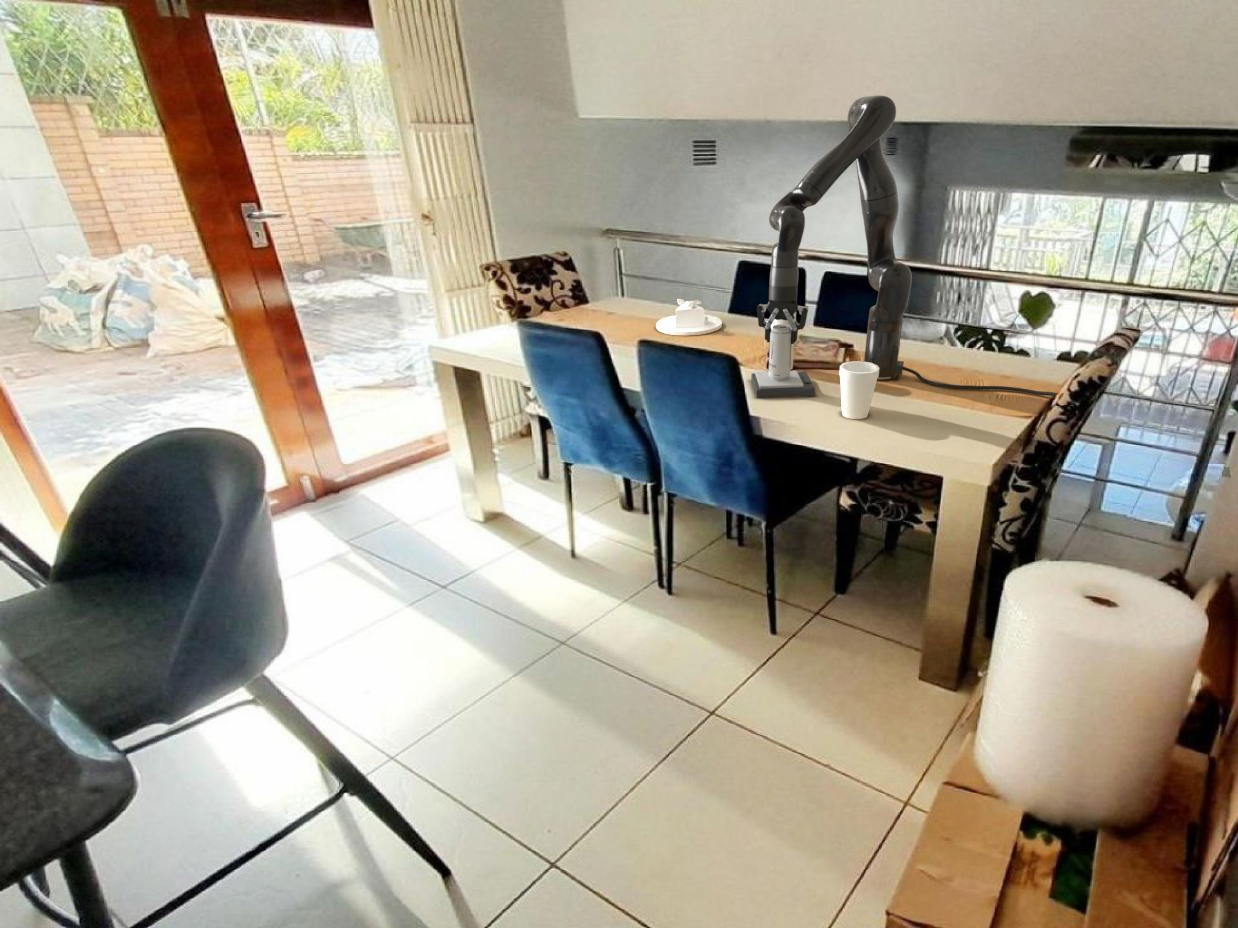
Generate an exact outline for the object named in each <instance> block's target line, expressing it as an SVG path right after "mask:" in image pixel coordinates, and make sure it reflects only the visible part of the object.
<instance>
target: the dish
mask: <svg viewBox="0 0 1238 928" xmlns="http://www.w3.org/2000/svg"><path fill="white" fill-rule="evenodd" d="M676 302H677V304H678V305H679V306H678V307H676V309H675V310H674V315H670V316H666V317H663V318H661V319H659V320H657V321H656V324H655V328H656V330H657V331H658V332H660V333H663V334H665V335H672V336H684V337H685V336H686V337H688V336H700V335H706V334H710V333H714V332H716V331H719V330H720V329H722V325H723V320H722V319H720V318H719V317H716V316H714V315H710V314H705V308H704V307H702V306H700V305H701V304H702V301H701V300H699V299H695V300H690V301H689V300H684V299H682V298H677V300H676Z"/></svg>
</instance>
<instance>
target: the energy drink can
mask: <svg viewBox="0 0 1238 928" xmlns="http://www.w3.org/2000/svg"><path fill="white" fill-rule="evenodd" d="M791 332H792V331H791V329H790V326H789V325H775V326H773V329H772V331H771V332H770V342H769V353H768V354H769V356H768V359H769V360H768V371H769V376H770V378H771V379H772V380H775V381H784V380H787V379H788V377H789V376H790V371H791V370H790V366H791V347H792V344H791Z"/></svg>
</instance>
